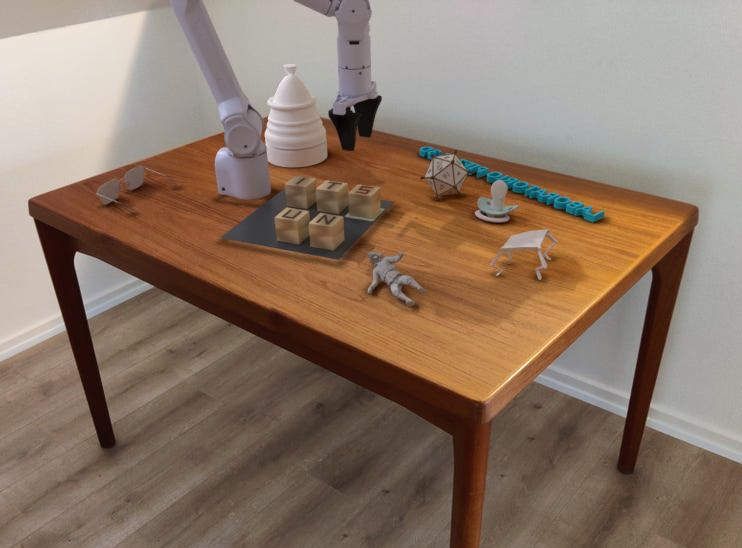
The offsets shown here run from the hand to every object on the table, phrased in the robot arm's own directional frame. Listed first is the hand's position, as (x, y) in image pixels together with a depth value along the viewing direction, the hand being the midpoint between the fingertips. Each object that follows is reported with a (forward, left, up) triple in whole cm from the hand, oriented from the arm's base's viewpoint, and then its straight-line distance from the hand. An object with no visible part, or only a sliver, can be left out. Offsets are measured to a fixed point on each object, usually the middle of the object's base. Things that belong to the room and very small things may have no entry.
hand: (356, 143), depth 134 cm
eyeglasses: (-38, -17, -10) cm, 43 cm away
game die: (+16, +4, -10) cm, 19 cm away
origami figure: (+37, -18, -10) cm, 42 cm away
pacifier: (+27, -2, -10) cm, 29 cm away
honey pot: (-20, +13, -10) cm, 26 cm away
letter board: (-2, -16, -9) cm, 19 cm away
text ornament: (+24, +13, -9) cm, 29 cm away
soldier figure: (+20, -32, -10) cm, 39 cm away
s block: (+6, -11, -8) cm, 15 cm away
